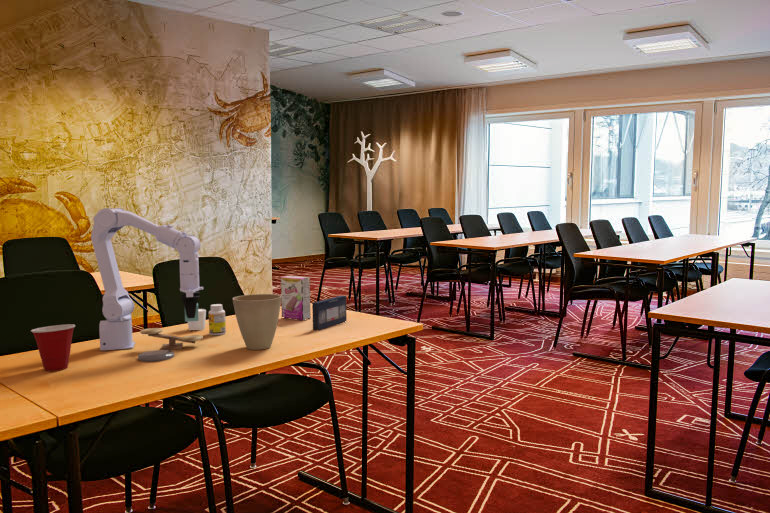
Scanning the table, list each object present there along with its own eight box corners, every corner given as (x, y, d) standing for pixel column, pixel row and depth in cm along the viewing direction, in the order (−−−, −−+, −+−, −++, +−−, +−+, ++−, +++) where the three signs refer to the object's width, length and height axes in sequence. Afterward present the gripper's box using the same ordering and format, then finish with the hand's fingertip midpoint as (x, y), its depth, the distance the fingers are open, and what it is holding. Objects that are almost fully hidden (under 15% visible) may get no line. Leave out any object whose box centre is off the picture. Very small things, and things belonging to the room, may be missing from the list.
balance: (140, 352, 188) (139, 332, 187) (142, 348, 194) (141, 328, 193) (203, 348, 193) (202, 328, 192) (203, 343, 199) (202, 324, 198)
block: (185, 321, 192) (184, 305, 191) (185, 319, 196) (184, 303, 195) (198, 321, 193) (197, 305, 192) (198, 318, 197) (198, 303, 196)
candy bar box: (280, 318, 241) (279, 277, 239) (289, 316, 245) (288, 275, 243) (303, 321, 235) (302, 278, 233) (311, 318, 239) (310, 277, 238)
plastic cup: (67, 361, 178) (64, 320, 177) (84, 367, 171) (82, 325, 170) (26, 369, 170) (23, 327, 169) (43, 376, 163) (40, 331, 162)
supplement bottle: (209, 333, 215) (207, 304, 214) (225, 331, 217) (224, 303, 216) (209, 336, 210) (208, 306, 209) (226, 335, 211) (225, 305, 211)
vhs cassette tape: (318, 330, 217) (317, 303, 216) (311, 330, 218) (310, 302, 218) (347, 321, 232) (347, 295, 232) (341, 321, 234) (341, 295, 233)
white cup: (203, 331, 218) (202, 311, 218) (184, 331, 219) (183, 312, 218) (209, 327, 225) (208, 308, 225) (190, 327, 225) (189, 308, 225)
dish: (136, 363, 175) (136, 359, 175) (140, 354, 185) (139, 351, 185) (173, 360, 178) (173, 356, 178) (175, 352, 188) (174, 348, 188)
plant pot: (290, 343, 198) (289, 294, 196) (269, 354, 184) (268, 301, 182) (248, 340, 202) (247, 292, 200) (225, 351, 188) (223, 300, 186)
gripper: (202, 275, 187) (204, 319, 188) (202, 271, 201) (204, 311, 202) (178, 276, 185) (180, 321, 186) (180, 271, 199) (181, 313, 200)
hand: (191, 316), depth 194 cm, fingers closed on block, 4 cm apart
